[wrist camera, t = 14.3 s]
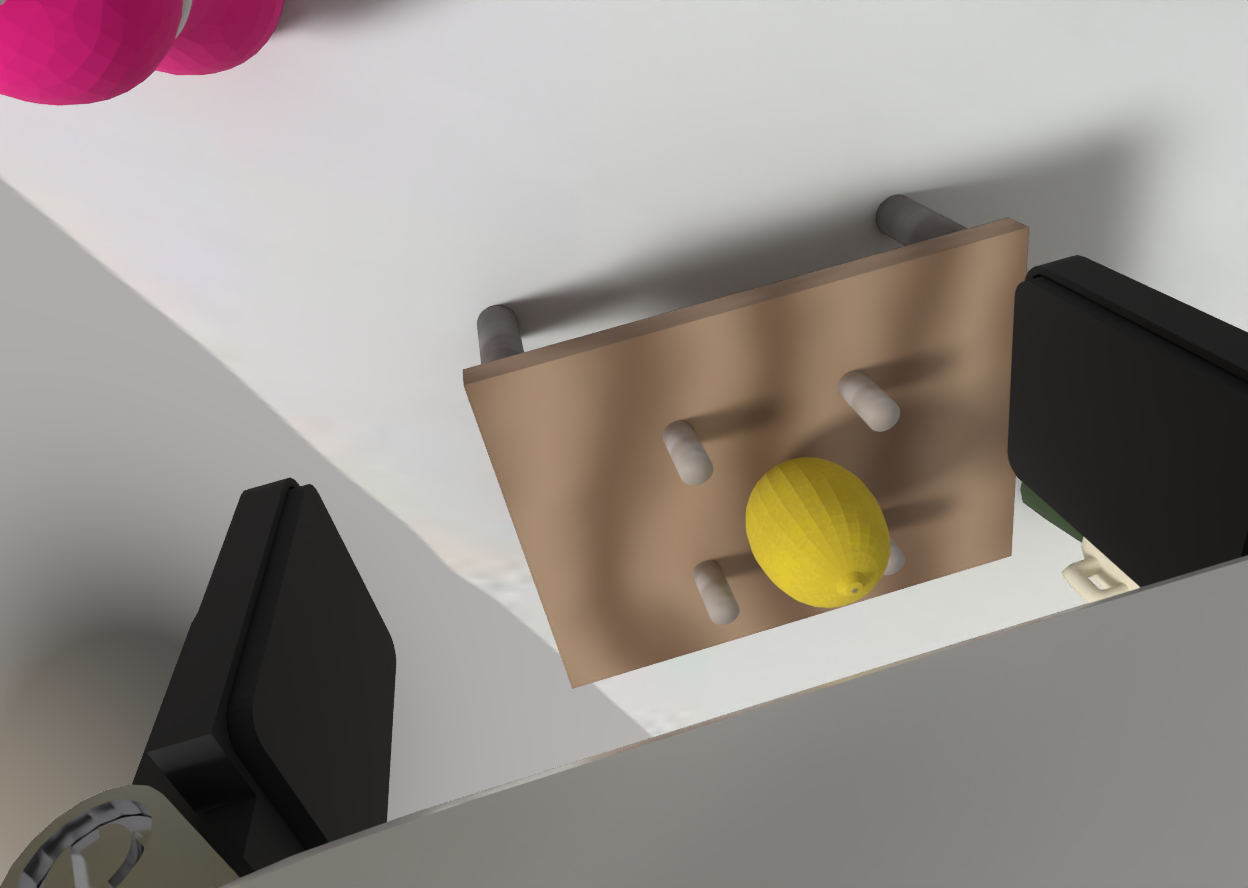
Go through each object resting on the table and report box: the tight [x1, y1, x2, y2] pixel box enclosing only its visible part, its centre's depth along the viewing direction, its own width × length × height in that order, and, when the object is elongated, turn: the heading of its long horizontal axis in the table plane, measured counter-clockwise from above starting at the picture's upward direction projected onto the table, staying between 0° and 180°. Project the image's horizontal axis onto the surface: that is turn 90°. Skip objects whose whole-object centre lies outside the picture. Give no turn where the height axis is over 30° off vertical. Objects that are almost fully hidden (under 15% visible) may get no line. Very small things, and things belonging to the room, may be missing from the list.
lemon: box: [746, 457, 890, 608], centre depth 35 cm, size 6×6×8 cm
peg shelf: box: [463, 195, 1029, 689], centre depth 41 cm, size 24×18×12 cm
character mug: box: [1020, 482, 1140, 603], centre depth 48 cm, size 11×7×13 cm, turn 106°
